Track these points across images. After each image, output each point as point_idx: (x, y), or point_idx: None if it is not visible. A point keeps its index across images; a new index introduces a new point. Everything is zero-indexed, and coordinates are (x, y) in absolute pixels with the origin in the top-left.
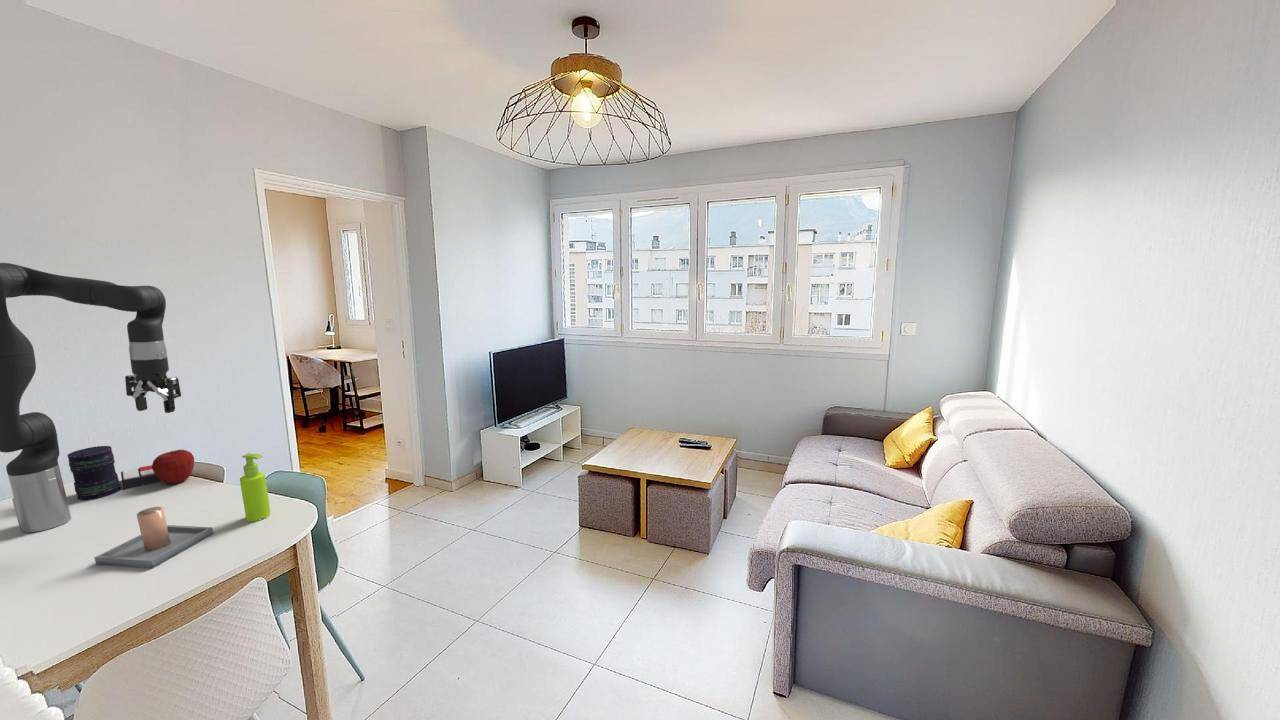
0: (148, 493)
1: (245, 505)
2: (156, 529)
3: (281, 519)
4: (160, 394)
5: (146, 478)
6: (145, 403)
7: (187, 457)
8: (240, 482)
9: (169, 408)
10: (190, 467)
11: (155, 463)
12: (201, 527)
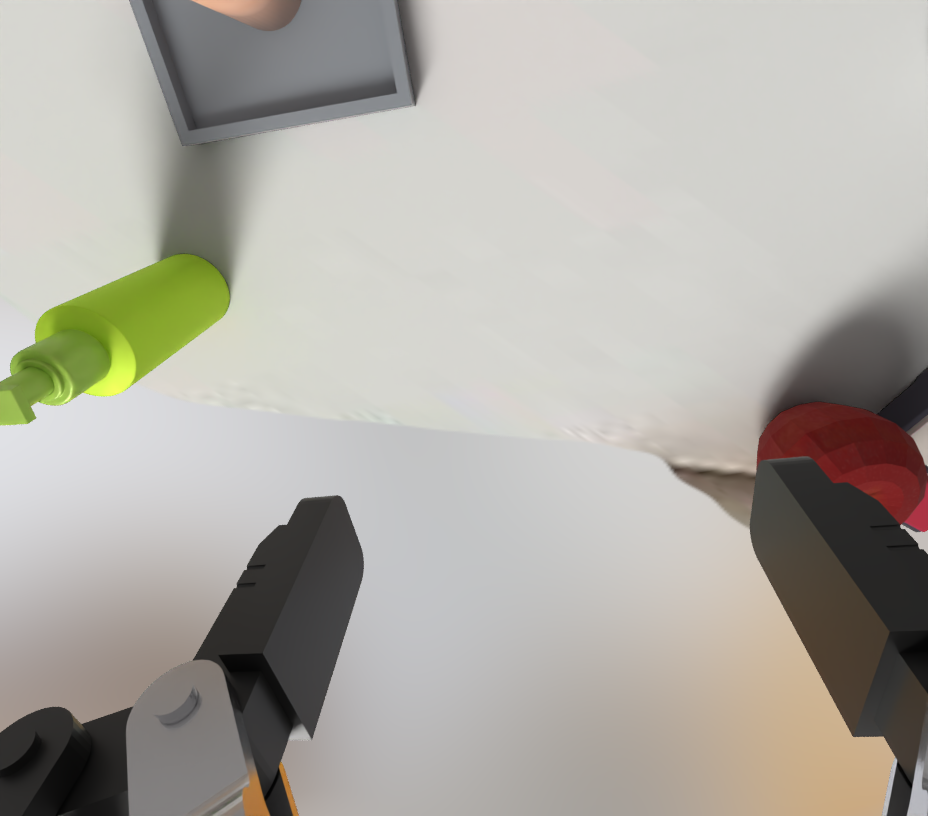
0: (816, 336)
1: (152, 270)
2: None
3: None
4: (216, 805)
5: (918, 405)
6: (794, 607)
7: None
8: (97, 304)
9: (262, 555)
10: None
11: (881, 435)
12: (222, 133)
